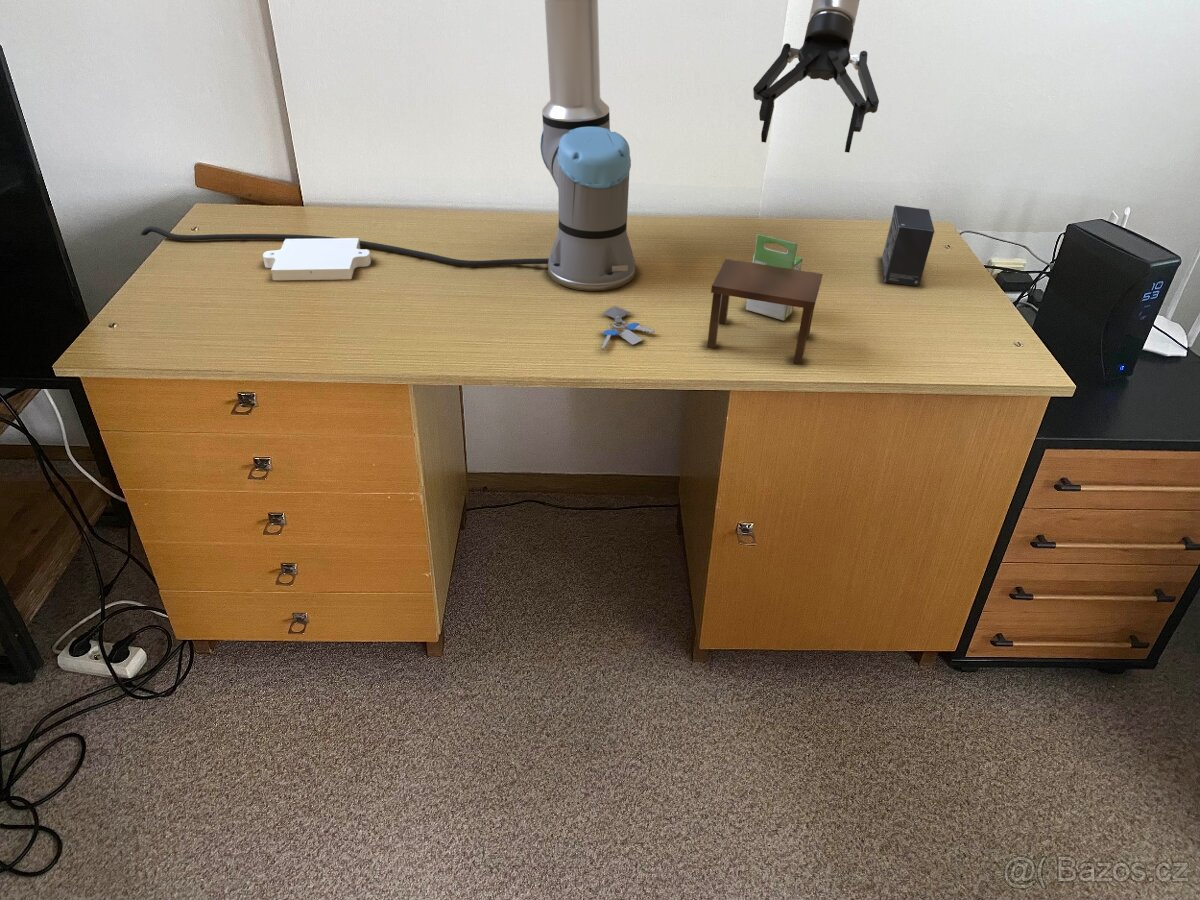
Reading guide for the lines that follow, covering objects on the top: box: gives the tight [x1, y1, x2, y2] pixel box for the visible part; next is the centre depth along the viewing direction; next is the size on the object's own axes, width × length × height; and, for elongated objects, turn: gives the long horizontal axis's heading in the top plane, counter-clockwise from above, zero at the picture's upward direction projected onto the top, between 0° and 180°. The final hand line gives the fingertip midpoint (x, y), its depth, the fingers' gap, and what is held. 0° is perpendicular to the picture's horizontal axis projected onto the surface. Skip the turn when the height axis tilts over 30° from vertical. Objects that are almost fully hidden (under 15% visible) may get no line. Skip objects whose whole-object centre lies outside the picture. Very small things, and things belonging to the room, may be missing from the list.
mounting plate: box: [262, 237, 372, 281], centre depth 154 cm, size 18×13×2 cm
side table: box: [706, 258, 824, 365], centre depth 134 cm, size 15×10×10 cm, turn 72°
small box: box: [880, 204, 935, 287], centre depth 155 cm, size 11×6×10 cm, turn 168°
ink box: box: [745, 233, 804, 321], centre depth 141 cm, size 7×4×13 cm, turn 58°
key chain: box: [601, 306, 656, 350], centre depth 138 cm, size 14×8×1 cm, turn 178°
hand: (805, 143), depth 143 cm, fingers open, 13 cm apart
